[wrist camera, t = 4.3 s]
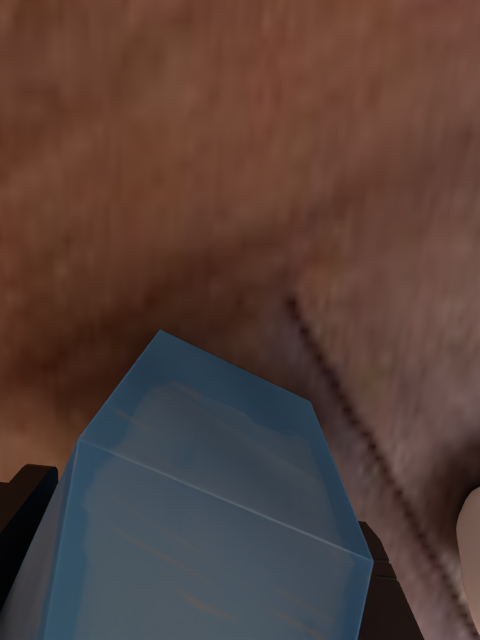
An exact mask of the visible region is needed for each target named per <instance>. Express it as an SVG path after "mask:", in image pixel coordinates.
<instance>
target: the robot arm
mask: <svg viewBox="0 0 480 640" xmlns="http://www.w3.org/2000/svg"><path fill="white" fill-rule="evenodd" d="M57 485H58V469H57V468H56V467H53V466H43V465H34V464H27V465H25V466H24V467H23V468H22V469H21V470H20V471H19V472H18V473H17V474H16V475H15V476H14V478H13V479H12V480H11V481H10V482H9V483H4V482H0V612H1V610H2V607H3V605H4V603H5V601H6V598H7V596H8V594H9V592H10V590H11V587H12V585H13V583H14V581H15V578H16V576H17V574H18V572H19V569H20V567H21V565H22V563H23V561H24V558H25V556H26V554H27V552H28V549H29V547H30V545H31V543H32V540H33V538H34V536H35V534H36V531H37V529H38V527H39V525H40V523H41V520H42V518H43V516H44V514H45V511H46V509H47V507H48V505H49V502H50V500H51V498H52V496H53V494H54V491H55V489H56V487H57ZM358 523H359V526H360V528H361V531H362V533H363V536H364V538H365V541H366V543H367V546H368V548H369V551H370V553H371V556H372V559H373V561H374V563H373V568H372V572H371V577H370V582H369V587H368V591H367V596H366V601H365V606H364V610H363V615H362V620H361V625H360V629H359V634H358V639H357V640H424V638H423V636H422V633H421V631H420V629H419V627H418V624H417V622H416V620H415V618H414V615H413V613H412V611H411V608H410V606H409V604H408V602H407V599H406V597H405V595H404V593H403V590H402V588H401V586H400V584H399V582H398V581H397V579H396V575H395V572H394V570H393V568H392V566H391V564H389V559H388V556H387V554H386V552H385V550H384V547H383V545H382V543H381V541H380V539H379V538H378V537H377V535H376V534H375V533H374V532H373V531H372V529H371V528H370V527H369V526H368V525H367V523H366V522H361V521H358Z"/></svg>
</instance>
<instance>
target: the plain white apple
mask: <svg viewBox="0 0 480 640" xmlns="http://www.w3.org/2000/svg"><path fill="white" fill-rule="evenodd" d="M456 534H457V541H458V548H459V555H460V561H461V568H462V576H463V583H464V590H465V594H466V597H467V601H468V605H469V609H470V612H471V616H472V619H473V621H474V624H475V626H476V629H477V631H478V633H479V635H480V486H479V487H478V488H476V489H475V490H473V491H472V492H471V493H470V494H469V496H468V497H467V498H466V500H465V502H464V504H463V507H462V509H461V511H460V514H459V516H458V521H457V526H456Z"/></svg>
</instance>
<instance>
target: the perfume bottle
mask: <svg viewBox="0 0 480 640" xmlns="http://www.w3.org/2000/svg"><path fill="white" fill-rule="evenodd" d="M373 563H374V561H373V559H372V556H371V553H370V551H369V548H368V546H367V543H366V541H365V538H364V536H363V533H362V531H361V528H360V526H359V523H358V521H357V518H356V516H355V513H354V510H353V508H352V505H351V503H350V500H349V498H348V495H347V493H346V490H345V488H344V485H343V483H342V480H341V478H340V475H339V472H338V470H337V467H336V465H335V462H334V460H333V457H332V455H331V452H330V450H329V447H328V445H327V442H326V440H325V437H324V434H323V432H322V429H321V427H320V424H319V422H318V419H317V417H316V414H315V412H314V409H313V407H312V404H311V402H310V401H308V400H306V399H304V398H302V397H300V396H298V395H296V394H294V393H291V392H289V391H287V390H285V389H283V388H281V387H279V386H277V385H275V384H273V383H271V382H268V381H266V380H264V379H262V378H260V377H258V376H256V375H254V374H252V373H250V372H248V371H246V370H243V369H241V368H239V367H237V366H235V365H233V364H231V363H229V362H227V361H225V360H223V359H221V358H218V357H216V356H214V355H212V354H210V353H208V352H206V351H204V350H202V349H200V348H198V347H196V346H193V345H191V344H189V343H187V342H185V341H183V340H181V339H179V338H177V337H175V336H173V335H170V334H168V333H166V332H164V331H162V330H159V331H158V333H157V334H156V335H155V337H154V338H153V339H152V341H151V342H150V343H149V345H148V346H147V347H146V349H145V350H144V351H143V353H142V354H141V355H140V357H139V358H138V359H137V361H136V362H135V363H134V365H133V366H132V367H131V369H130V370H129V371H128V373H127V374H126V375H125V377H124V378H123V379H122V381H121V382H120V383H119V385H118V386H117V387H116V389H115V390H114V391H113V393H112V394H111V395H110V397H109V398H108V399H107V401H106V402H105V403H104V405H103V406H102V407H101V409H100V410H99V411H98V413H97V414H96V415H95V417H94V418H93V419H92V420H91V422H90V423H89V424H88V426H87V427H86V428H85V430H84V431H83V432H82V434H81V435H80V436H79V438H78V440H77V442H76V444H75V447H74V449H73V451H72V453H71V456H70V458H69V460H68V462H67V465H66V467H65V469H64V471H63V473H62V476H61V478H60V480H59V482H58V485H57V487H56V489H55V491H54V494H53V496H52V498H51V500H50V502H49V505H48V507H47V509H46V511H45V514H44V516H43V518H42V520H41V523H40V525H39V527H38V529H37V531H36V534H35V536H34V538H33V540H32V543H31V545H30V547H29V549H28V552H27V554H26V556H25V558H24V561H23V563H22V565H21V567H20V569H19V572H18V574H17V576H16V578H15V581H14V583H13V585H12V587H11V590H10V592H9V594H8V596H7V598H6V601H5V603H4V605H3V607H2V610H1V612H0V640H357V639H358V634H359V629H360V625H361V620H362V615H363V610H364V606H365V601H366V596H367V591H368V587H369V582H370V577H371V572H372V568H373Z"/></svg>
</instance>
